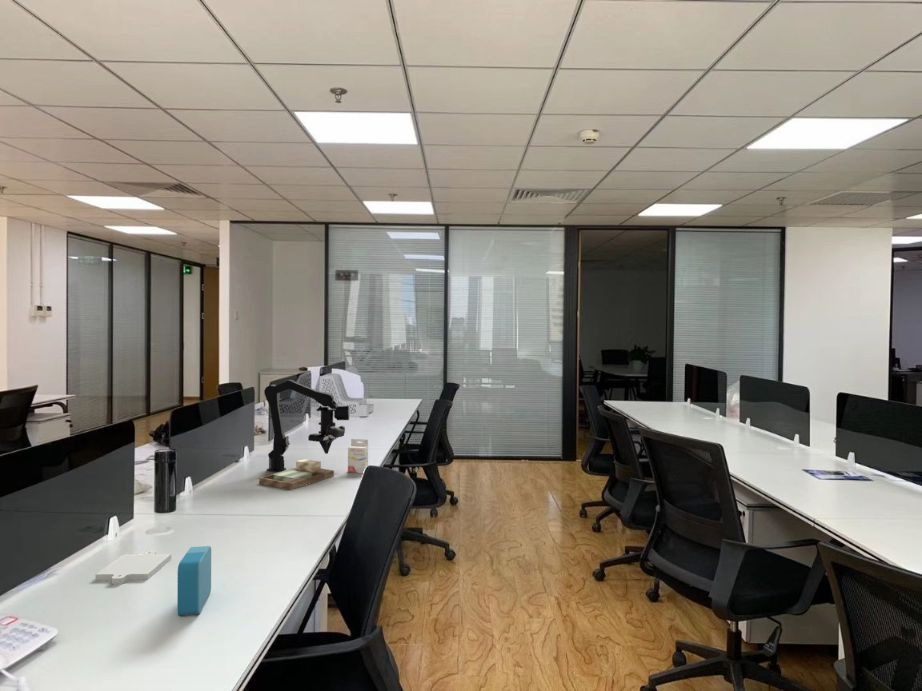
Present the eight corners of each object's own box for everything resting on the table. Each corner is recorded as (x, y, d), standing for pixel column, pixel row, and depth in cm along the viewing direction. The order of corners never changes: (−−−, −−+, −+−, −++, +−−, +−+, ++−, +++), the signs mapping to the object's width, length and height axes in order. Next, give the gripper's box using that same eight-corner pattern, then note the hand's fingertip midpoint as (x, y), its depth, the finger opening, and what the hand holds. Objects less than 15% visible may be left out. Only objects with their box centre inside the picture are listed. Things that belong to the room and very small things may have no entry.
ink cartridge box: (347, 472, 257) (347, 440, 256) (350, 470, 262) (350, 438, 261) (365, 473, 256) (365, 441, 255) (368, 470, 261) (368, 439, 260)
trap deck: (259, 483, 235) (259, 477, 235) (303, 470, 258) (303, 465, 258) (290, 489, 227) (290, 483, 227) (333, 476, 250) (333, 470, 250)
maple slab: (296, 468, 252) (296, 461, 252) (304, 466, 256) (304, 459, 256) (312, 471, 247) (312, 463, 247) (320, 469, 252) (320, 461, 251)
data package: (191, 594, 136) (191, 544, 135) (211, 592, 137) (211, 543, 136) (177, 618, 124) (177, 564, 124) (199, 616, 125) (199, 563, 125)
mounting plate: (128, 557, 158) (128, 550, 158) (175, 557, 159) (175, 550, 158) (89, 586, 140) (89, 578, 140) (142, 585, 141) (142, 578, 141)
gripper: (326, 424, 250) (326, 459, 250) (353, 419, 266) (352, 452, 267) (307, 422, 255) (307, 456, 255) (335, 417, 272) (334, 449, 272)
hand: (326, 453), depth 262 cm, fingers closed
